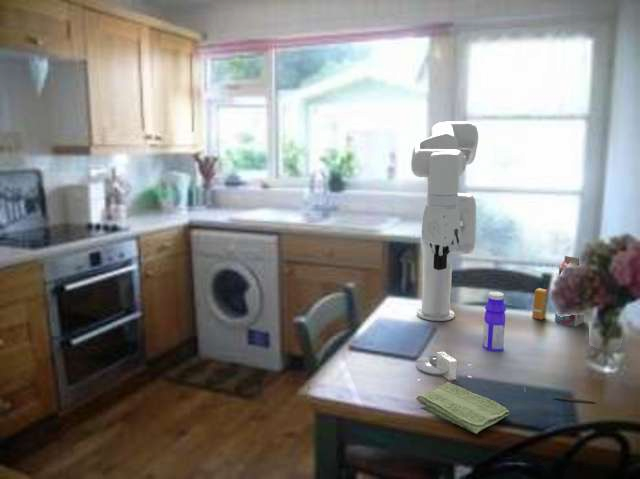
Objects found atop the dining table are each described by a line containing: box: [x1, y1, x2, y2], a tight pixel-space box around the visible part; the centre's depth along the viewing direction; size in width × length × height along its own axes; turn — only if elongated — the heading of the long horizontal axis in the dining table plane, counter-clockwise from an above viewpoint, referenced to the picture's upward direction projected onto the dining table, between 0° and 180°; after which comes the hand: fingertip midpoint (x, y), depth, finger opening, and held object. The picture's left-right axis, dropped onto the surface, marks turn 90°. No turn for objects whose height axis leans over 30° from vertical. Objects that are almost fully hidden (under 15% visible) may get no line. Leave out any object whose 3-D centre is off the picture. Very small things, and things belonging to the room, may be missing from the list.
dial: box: [415, 351, 458, 381], centre depth 139 cm, size 13×10×5 cm
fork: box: [523, 386, 597, 404], centre depth 127 cm, size 3×16×2 cm, turn 75°
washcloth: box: [416, 383, 510, 435], centre depth 122 cm, size 13×18×3 cm
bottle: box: [482, 291, 507, 353], centre depth 153 cm, size 7×6×17 cm
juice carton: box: [554, 255, 585, 327], centre depth 176 cm, size 7×7×22 cm
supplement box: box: [531, 287, 548, 321], centre depth 182 cm, size 3×3×10 cm
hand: (439, 268), depth 143 cm, fingers closed
